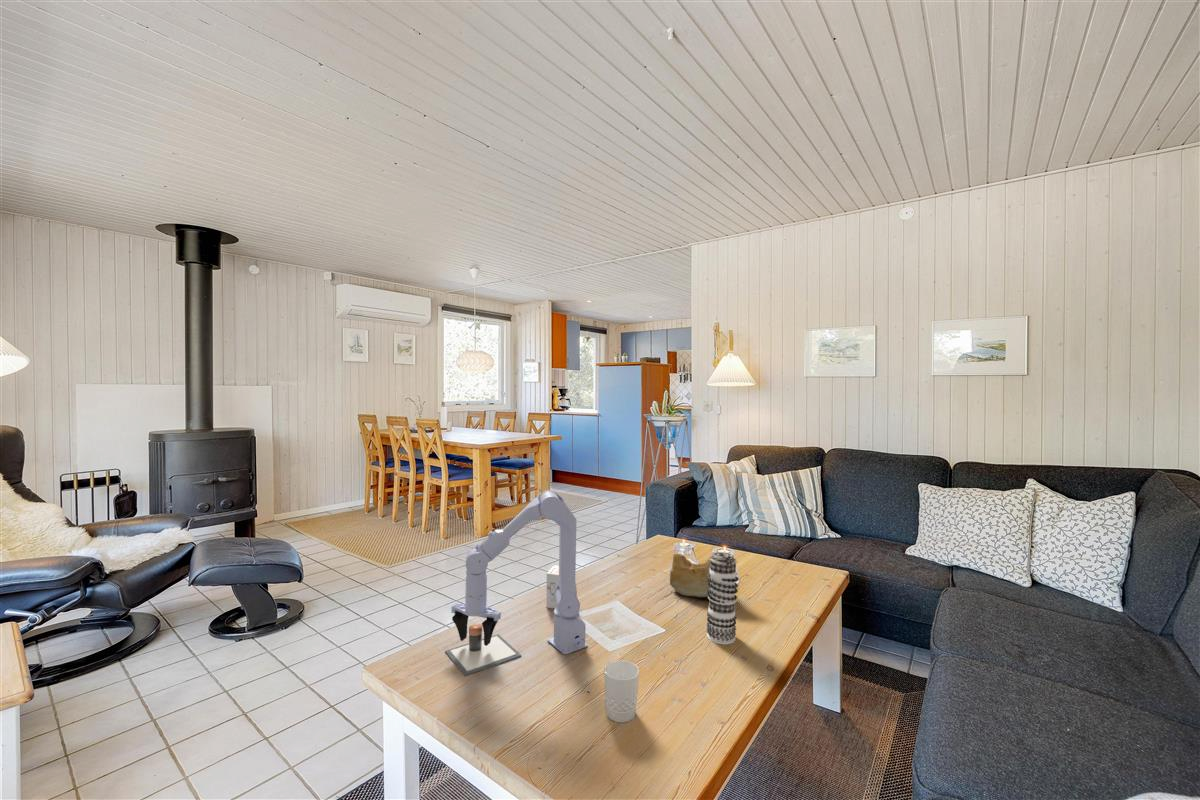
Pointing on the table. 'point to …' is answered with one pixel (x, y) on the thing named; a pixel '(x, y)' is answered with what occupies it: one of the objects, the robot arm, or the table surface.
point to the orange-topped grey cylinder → (475, 637)
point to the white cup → (621, 690)
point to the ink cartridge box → (552, 586)
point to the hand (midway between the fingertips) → (475, 641)
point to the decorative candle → (722, 598)
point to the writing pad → (482, 655)
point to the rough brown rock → (689, 577)
